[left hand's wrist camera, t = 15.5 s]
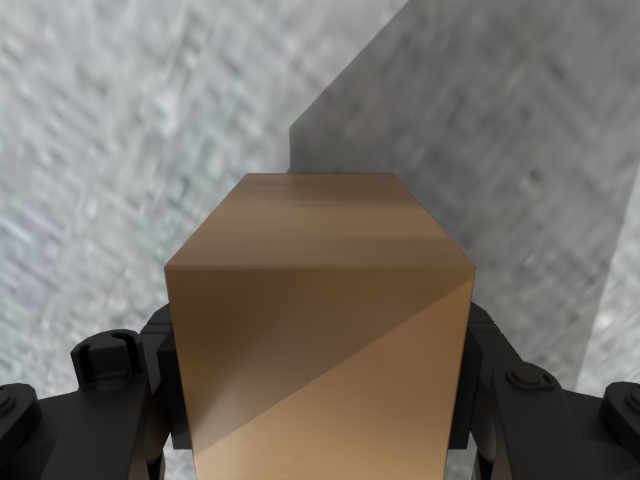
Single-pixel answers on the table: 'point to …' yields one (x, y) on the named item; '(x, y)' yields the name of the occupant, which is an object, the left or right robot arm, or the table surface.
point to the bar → (319, 331)
